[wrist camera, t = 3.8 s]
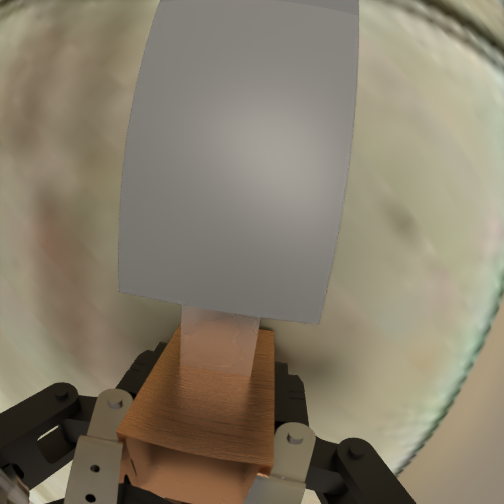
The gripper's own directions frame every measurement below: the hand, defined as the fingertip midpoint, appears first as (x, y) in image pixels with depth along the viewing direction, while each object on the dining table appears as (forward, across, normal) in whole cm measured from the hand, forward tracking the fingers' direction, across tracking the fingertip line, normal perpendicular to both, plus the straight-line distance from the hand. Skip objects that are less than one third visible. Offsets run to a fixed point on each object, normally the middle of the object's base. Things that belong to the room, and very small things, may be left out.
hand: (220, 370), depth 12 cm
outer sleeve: (+2, 0, -9) cm, 9 cm away
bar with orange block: (+1, 0, -2) cm, 2 cm away
